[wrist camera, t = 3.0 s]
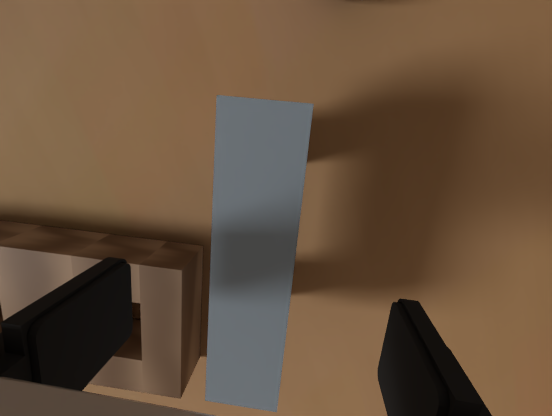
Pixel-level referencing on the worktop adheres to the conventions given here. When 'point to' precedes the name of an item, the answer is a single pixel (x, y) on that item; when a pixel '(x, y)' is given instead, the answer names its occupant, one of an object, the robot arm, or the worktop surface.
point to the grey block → (253, 245)
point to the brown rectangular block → (145, 290)
